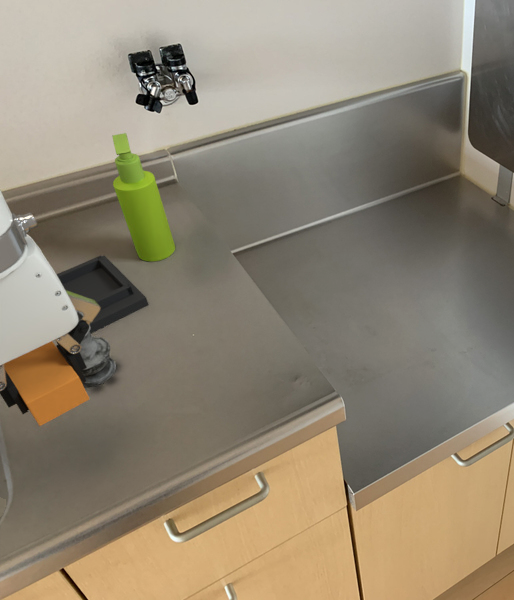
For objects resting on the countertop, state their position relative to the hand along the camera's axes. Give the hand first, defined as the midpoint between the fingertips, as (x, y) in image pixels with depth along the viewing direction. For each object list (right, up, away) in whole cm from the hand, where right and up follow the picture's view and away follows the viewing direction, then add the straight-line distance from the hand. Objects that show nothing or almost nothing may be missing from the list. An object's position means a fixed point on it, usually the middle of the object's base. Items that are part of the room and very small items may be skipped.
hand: (49, 388), depth 63 cm
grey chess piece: (-4, 0, +17) cm, 18 cm away
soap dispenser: (-3, +17, +37) cm, 40 cm away
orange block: (0, 0, 0) cm, 1 cm away
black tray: (-9, +9, +28) cm, 31 cm away
